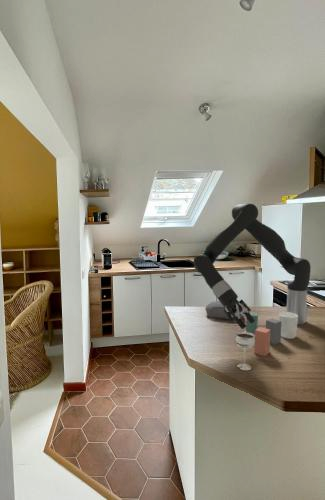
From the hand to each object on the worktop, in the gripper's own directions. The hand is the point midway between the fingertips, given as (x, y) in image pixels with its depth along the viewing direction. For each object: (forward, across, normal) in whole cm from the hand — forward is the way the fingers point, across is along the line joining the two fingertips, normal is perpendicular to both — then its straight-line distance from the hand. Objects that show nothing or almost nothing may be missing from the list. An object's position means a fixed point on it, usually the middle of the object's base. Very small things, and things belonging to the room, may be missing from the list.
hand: (248, 325), depth 123 cm
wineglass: (+11, -15, +4) cm, 19 cm away
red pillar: (+11, 0, +3) cm, 12 cm away
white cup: (+13, +24, +2) cm, 28 cm away
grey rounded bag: (-12, +31, +27) cm, 43 cm away
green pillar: (+3, +16, +11) cm, 20 cm away
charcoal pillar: (+11, +13, +3) cm, 18 cm away
